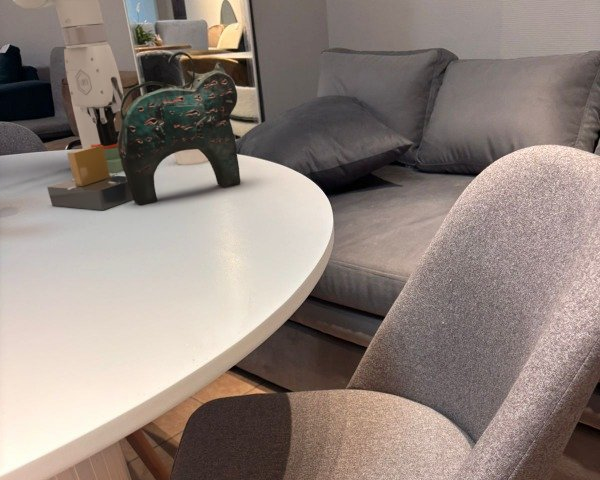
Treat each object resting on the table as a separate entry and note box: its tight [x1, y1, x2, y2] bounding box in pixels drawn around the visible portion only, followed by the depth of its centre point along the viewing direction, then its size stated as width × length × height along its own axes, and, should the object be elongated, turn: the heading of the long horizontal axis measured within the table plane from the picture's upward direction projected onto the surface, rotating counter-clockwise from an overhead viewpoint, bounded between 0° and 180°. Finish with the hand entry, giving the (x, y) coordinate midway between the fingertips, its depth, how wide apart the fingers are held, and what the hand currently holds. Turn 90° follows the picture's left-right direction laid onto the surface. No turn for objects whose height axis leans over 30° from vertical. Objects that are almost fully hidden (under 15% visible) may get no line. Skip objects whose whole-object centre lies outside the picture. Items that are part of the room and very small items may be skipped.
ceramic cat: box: [117, 51, 241, 206], centre depth 98 cm, size 20×6×20 cm, turn 119°
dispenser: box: [104, 147, 124, 174], centre depth 127 cm, size 10×8×4 cm
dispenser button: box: [103, 143, 118, 149], centre depth 126 cm, size 4×4×2 cm
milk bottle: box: [70, 97, 100, 149], centre depth 137 cm, size 8×8×20 cm
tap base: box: [46, 173, 134, 211], centre depth 104 cm, size 12×10×3 cm
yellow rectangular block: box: [66, 144, 111, 186], centre depth 101 cm, size 6×2×5 cm, turn 148°
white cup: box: [173, 149, 209, 166], centre depth 124 cm, size 8×8×10 cm
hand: (109, 144), depth 126 cm, fingers closed
